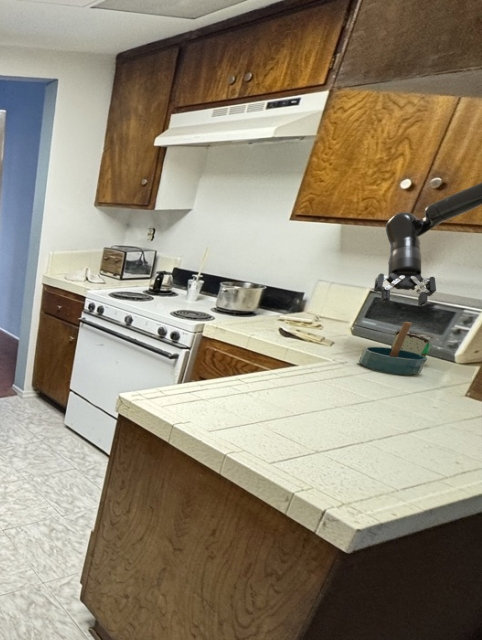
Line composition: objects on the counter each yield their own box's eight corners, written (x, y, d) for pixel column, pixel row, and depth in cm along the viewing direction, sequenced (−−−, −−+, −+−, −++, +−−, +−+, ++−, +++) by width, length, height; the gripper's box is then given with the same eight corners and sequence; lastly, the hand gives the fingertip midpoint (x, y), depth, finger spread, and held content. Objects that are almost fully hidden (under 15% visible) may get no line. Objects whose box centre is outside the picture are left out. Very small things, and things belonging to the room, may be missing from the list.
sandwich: (437, 367, 156) (451, 338, 153) (418, 367, 156) (432, 338, 153) (401, 356, 168) (413, 329, 164) (383, 356, 168) (395, 328, 164)
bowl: (408, 366, 157) (415, 350, 155) (428, 379, 145) (436, 362, 143) (351, 359, 163) (357, 344, 161) (366, 371, 151) (373, 355, 149)
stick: (394, 365, 155) (414, 322, 149) (400, 369, 151) (420, 324, 146) (377, 363, 157) (395, 320, 151) (382, 367, 153) (401, 323, 148)
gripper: (382, 254, 158) (381, 293, 153) (441, 257, 152) (441, 298, 147) (371, 269, 165) (369, 307, 160) (426, 272, 158) (426, 311, 153)
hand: (404, 302), depth 153 cm, fingers open, 8 cm apart
